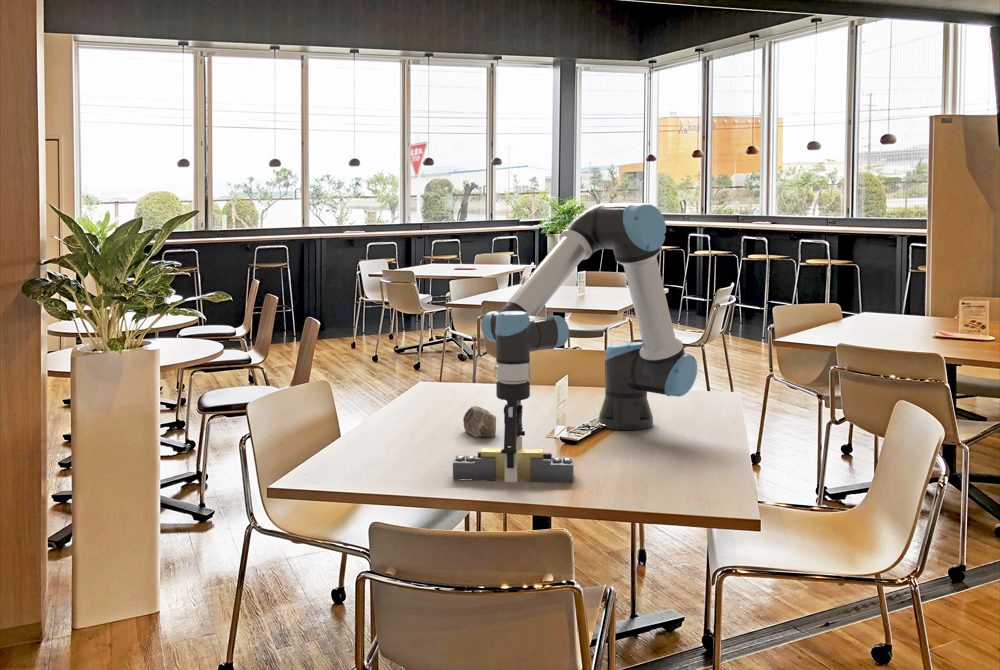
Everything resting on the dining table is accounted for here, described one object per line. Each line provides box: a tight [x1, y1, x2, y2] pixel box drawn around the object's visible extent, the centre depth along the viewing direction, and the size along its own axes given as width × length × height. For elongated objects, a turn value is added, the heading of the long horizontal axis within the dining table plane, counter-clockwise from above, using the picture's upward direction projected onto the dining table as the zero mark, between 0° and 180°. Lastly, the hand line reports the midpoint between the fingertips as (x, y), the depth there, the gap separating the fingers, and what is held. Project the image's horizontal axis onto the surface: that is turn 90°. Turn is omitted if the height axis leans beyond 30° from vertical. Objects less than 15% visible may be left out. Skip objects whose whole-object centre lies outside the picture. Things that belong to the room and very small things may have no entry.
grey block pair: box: [452, 451, 575, 484], centre depth 203 cm, size 27×6×5 cm, turn 84°
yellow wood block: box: [480, 447, 545, 481], centre depth 202 cm, size 14×3×6 cm, turn 84°
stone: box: [462, 405, 497, 438], centre depth 242 cm, size 7×12×7 cm, turn 33°
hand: (513, 472), depth 203 cm, fingers open, 13 cm apart
